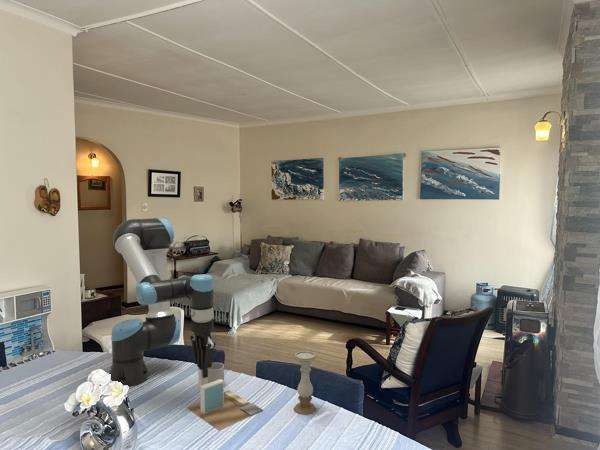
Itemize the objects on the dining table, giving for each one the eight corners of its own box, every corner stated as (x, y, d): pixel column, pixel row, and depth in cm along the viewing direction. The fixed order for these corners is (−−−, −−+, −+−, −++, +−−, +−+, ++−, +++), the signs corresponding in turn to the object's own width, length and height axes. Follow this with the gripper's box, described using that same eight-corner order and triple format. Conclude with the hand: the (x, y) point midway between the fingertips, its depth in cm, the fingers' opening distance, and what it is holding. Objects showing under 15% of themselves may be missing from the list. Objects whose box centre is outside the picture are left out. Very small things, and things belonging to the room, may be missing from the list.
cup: (217, 394, 159) (217, 371, 159) (195, 389, 164) (195, 366, 163) (228, 386, 166) (227, 364, 165) (206, 382, 170) (206, 360, 169)
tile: (200, 411, 144) (200, 386, 144) (220, 403, 150) (220, 379, 149) (204, 414, 143) (203, 388, 142) (224, 406, 148) (224, 381, 148)
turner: (220, 397, 154) (220, 393, 154) (231, 393, 158) (231, 389, 158) (250, 416, 142) (250, 411, 141) (262, 411, 145) (262, 406, 145)
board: (186, 410, 147) (186, 407, 147) (229, 394, 160) (229, 391, 160) (218, 434, 133) (218, 430, 133) (263, 413, 145) (263, 410, 145)
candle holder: (320, 408, 149) (321, 351, 148) (313, 420, 141) (313, 361, 140) (297, 404, 152) (297, 348, 151) (288, 416, 144) (288, 357, 143)
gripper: (183, 317, 150) (184, 382, 152) (202, 325, 141) (203, 395, 143) (201, 313, 156) (202, 376, 157) (222, 321, 146) (222, 388, 148)
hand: (203, 385), depth 150 cm, fingers closed
